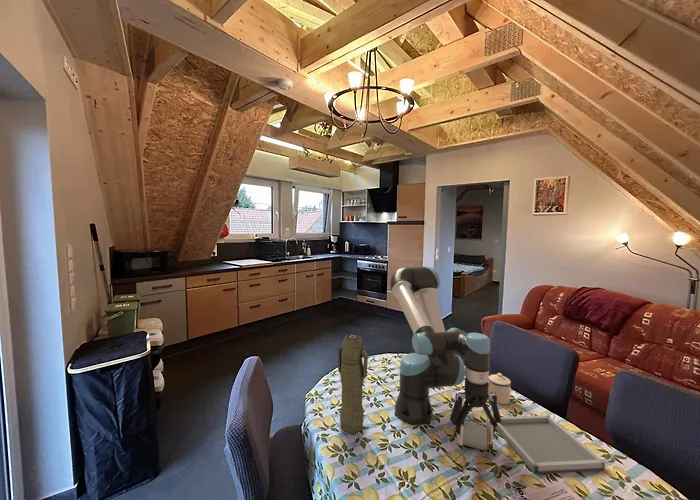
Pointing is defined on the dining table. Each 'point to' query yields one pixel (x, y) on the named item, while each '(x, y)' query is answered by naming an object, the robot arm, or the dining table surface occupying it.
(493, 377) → the teacup with lid
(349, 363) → the thermos
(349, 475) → the dining table surface
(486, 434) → the ceramic mug
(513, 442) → the drying tray
